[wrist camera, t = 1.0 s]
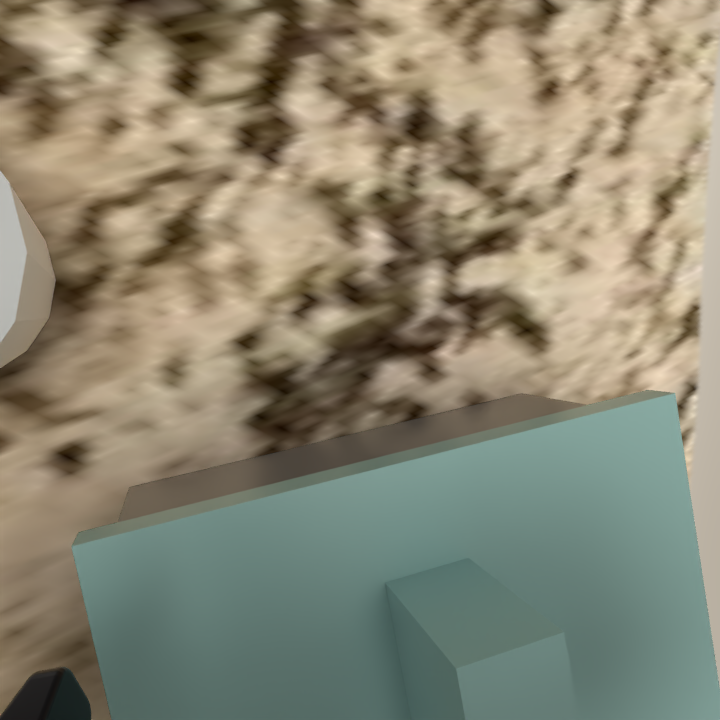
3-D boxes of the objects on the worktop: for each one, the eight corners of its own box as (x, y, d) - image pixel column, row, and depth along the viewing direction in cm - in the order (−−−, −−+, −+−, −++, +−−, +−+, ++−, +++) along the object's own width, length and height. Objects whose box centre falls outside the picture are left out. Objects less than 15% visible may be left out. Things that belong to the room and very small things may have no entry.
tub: (568, 669, 24) (690, 774, 18) (198, 799, 21) (206, 976, 15) (521, 393, 23) (634, 413, 18) (129, 487, 20) (108, 548, 14)
